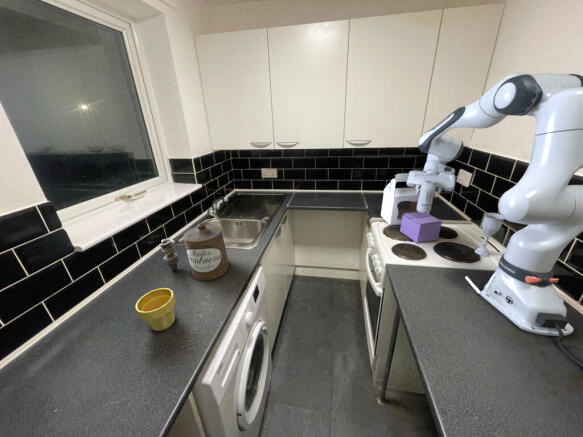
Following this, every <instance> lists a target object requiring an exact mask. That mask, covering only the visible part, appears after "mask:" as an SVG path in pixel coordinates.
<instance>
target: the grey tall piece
mask: <svg viewBox="0 0 583 437" xmlns="http://www.w3.org/2000/svg"><path fill="white" fill-rule="evenodd" d="M159 247H160V250H161V252H162V253H163V254H166V255H165V256H164V257H163V260H164V263H165V265H167V266H168V267H169V270H170V271H172V272H175V271H176V269H178V263H179V256H178V253H177V252H176V249H177V248H176V243H175V240H173V239H171V238H163V239H162V240H161V243H159Z"/></svg>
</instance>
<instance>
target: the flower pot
mask: <svg viewBox="0 0 583 437" xmlns="http://www.w3.org/2000/svg"><path fill="white" fill-rule="evenodd" d="M176 302H177V300H176V296H175V293H174V291H173V290H172V289H170V288H169V287H159V288H155V289H153V290H150V291H148V292H147V293H145V294H144V295H142V296H141V297H140V298H139V299H138V300H137V301H136V304H135V305H134V306H135V308H134V309H135V311H136V313H137V315H138V318H140V319H141V320H143V321H145V323H147V325H148V326H149V327H150V328H151V329H152V330H154V331H156V332H161V331H164V330H167V329H168V328H170V327H171V326H172V325H173V324H174V322H175V320H176V314H175V305H176Z"/></svg>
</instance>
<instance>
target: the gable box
mask: <svg viewBox="0 0 583 437" xmlns="http://www.w3.org/2000/svg"><path fill="white" fill-rule="evenodd" d="M408 177H409V172H407V173H405V172H404V173H396V174H394V178H392V179H390V181H389V183H388V184H387V185H386V186H385V188H384V189H383V196H382V204H381V211H380V217H382V219H383V220H384V221H385V222H386V223H387V224H388V225H390V226H393V225H395V226H396V225H401V222H402V217H403V214H405V213H413V212H418V211H417V204H418V199H419V195H416V193H417V191H416V187H397V186H396V185H397V183H399V182H401V183H402V182H404V183H405V182H407V180H408ZM396 187H397V188H396ZM420 189H421V188H419V189H418V190H419V191H420ZM401 202H410V206H409V209H404V208H398V204H400V203H401ZM428 214H430V211H429V212H428Z"/></svg>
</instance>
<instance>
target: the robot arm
mask: <svg viewBox="0 0 583 437" xmlns="http://www.w3.org/2000/svg"><path fill="white" fill-rule="evenodd" d="M508 116H513V117H514V116H517V117H524V116H527V117H534V118H535V121H536V127H535V133H534V139H533V145H532V150H531V156H530V161H529V164H528V166H527V168H526V170H525V172H524V174H523V176H522V177H521V178H520V179H519V181H518V182H517V183H516V184H515V185H514V186H513V187H511V188H510V189H508V190H507V191H505V192H504V193H503V194H502V195H501V197H500V198H499V200H498V202H497V203H498V204H497V208H498V212H499V214H500V215H502V217H503V218H504V220H505V221H507V222H510V223H516V224H522V225H526V226H525V227H523V228H522V229H519V230H517V231H516V232H514V233H513V234H512V235H511V236H510V238H509V241H508V243H507V246H506V248H505V251H504V253H502V254H501V256H500V258H499V259H498V264H497V265H498V267H497V268H496V270H495V271H494V272H493V274H492V275H491V277H490V278H489V280H488V281H487V283H485V285H484V286H483V289H482V290H481V291H480V290H479V288H478V287H477V286H476V285H475V284H474V283H473V282H472V281H471V279H470V278H469V277H468V276H465V279H466V281H468V283H469V284H470V285H471V286H472V287H473V289H474V290H475V291H476V292H477V293H478V294H479V295H480V297H482V298H483V299H484V300H486V301H487V302H488V303H489V304H490V305H491V306H492V307H494V308H495V309H497V310H498V312H500V313H501V314H503V315H504V316H505V317H506V318H507V319H508V320H510V321H511V322H512V323H513V324H515V325H516V326H517V327H518V328H520V329H521V330H523V331H525V332H528V333H532V334H536V335H542V336H549V337H550V336H552V337H557V339H556V344H557V346H558V347H559V348H560V350H561V351H563V352H564V353H565V354H566V355H567V356H568V357H569V358H570V359H571V360H572V361H573V362H574V363H576V364H577V365H578V366H579V367H580V368H582V369H583V362H582V361H581V360H579V359H578V358H576V357H575V356H573V354H572V353H570V352H569V351H568V350H567V349H566V348H565V346H564V345H563V340H564V339H565V337H566V336H570V335H571V334H573V332H574V330H575V329H574V327H573V326H572V325H571V324H570V323H569V322H570V320H569V319H568V318H567V313H568V310H567V307H566V306H565V304H564V303H565V302H564V299H563V298H562V297H561V296H560V295H559V293H558V292H557V290H556V289H555V286H554V285H553V283H558V282H559V280H560V279H559V278H554V269H553V268H554V267H555V265H556V263H557V262H558V259H559V257H560V256H561V254H562V252H563V250H564V249H565V248H566V247H567V246H568V245H569V244H570V243H571V242H572V241H573V240H574V239H576V237H578V236H579V235H580V234H581V233H582V232H583V184H569V183H570V181H571V179H572V178H573V176H574V175H575V174H576V173H577V172H578V171H579V170H581V169H583V75H581V74H577V73H567V74H566V73H553V72H540V73H531V74H528V73H525V72H521V71H520V72H519V71H517V72H512V73H510V74H507V75H506V76H504V77H502V78H501V79H500V80H499V81H498V82H496V83H494V85H492V86H491V87H490V88H489V89H488V90H487V91H486V92H485V93H484V94H483V95H482V96H481V97H480V98H478V99H476V100H475V101H474V102H472V103H469V104H467V105H464V106H460V107H458V108H456V109H455V110H454V111H452V112H451V113H449V115H447V116H445V117H444V118H443V119H442V120H441V121H440V122H438V123H437V124H436V125H435V126H433V127H432V128H430V129H429V130H427V131H426V132H424V133H423V134H422V135H421V137H420V138H419V141H418V143H417V147H418V149H419V151H420V152H421V153H424V154H427V157H426V162H425V164H424V167H423V169H412V170H409V172H408V173H409V177H408V180H407V181H406V186H407V187H409V188H416V191H417V193H416V195H419V194H420V191H419V190H418V189H419V188H421V185H422V183H423V182H424V181H434V182H435V185H436V188H435V192H434V195H433V198H438V195H439V194H440V193H442V191H444V192H453V191H454V190H455V186H456V175H455V173H456V169H455V168H453V167H450V166H447V165H446V164H447V163H451V162H452V161H455V160H458V159H459V157H460V156H461V155H462V153H463V151H464V147H465V146H464V141H463V140H462V139H460V138H457V137H454V136H450V135H447V134H446V133H448V132H449V131H450V130H453V129H460V128H468V129H476V130H477V129H488V128H491V127H493V126H495V125H497V124H499V123H500V122H502V121H503V120H504V119H506V118H507V117H508ZM568 184H569V185H568Z"/></svg>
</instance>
